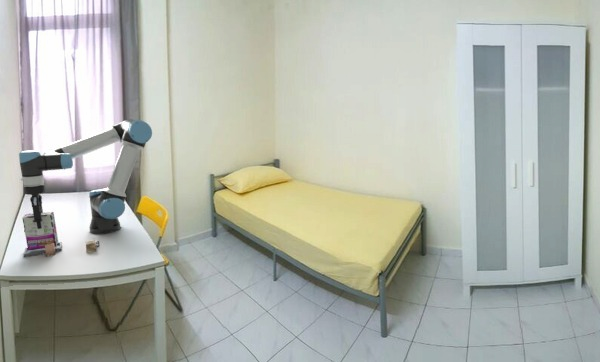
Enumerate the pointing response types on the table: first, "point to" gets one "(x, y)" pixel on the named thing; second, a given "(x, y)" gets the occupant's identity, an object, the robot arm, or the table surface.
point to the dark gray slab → (97, 243)
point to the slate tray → (41, 250)
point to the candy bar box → (49, 231)
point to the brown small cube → (50, 249)
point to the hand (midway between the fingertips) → (41, 232)
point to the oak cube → (90, 246)
